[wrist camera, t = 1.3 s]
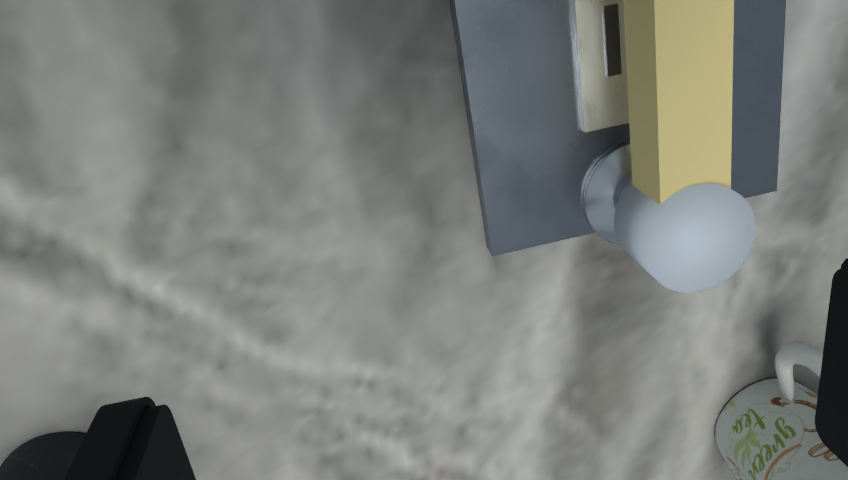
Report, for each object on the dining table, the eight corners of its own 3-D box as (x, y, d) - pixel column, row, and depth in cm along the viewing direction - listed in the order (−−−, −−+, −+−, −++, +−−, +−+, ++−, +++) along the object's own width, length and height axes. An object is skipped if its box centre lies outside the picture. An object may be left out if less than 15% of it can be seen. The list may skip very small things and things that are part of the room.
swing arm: (580, -286, 21) (623, -325, 18) (713, -309, 21) (775, -351, 18) (615, 270, 29) (648, 304, 26) (711, 247, 29) (754, 278, 26)
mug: (705, 494, 40) (819, 651, 31) (671, 331, 35) (796, 462, 26) (833, 446, 40) (984, 588, 31) (817, 275, 35) (994, 386, 26)
